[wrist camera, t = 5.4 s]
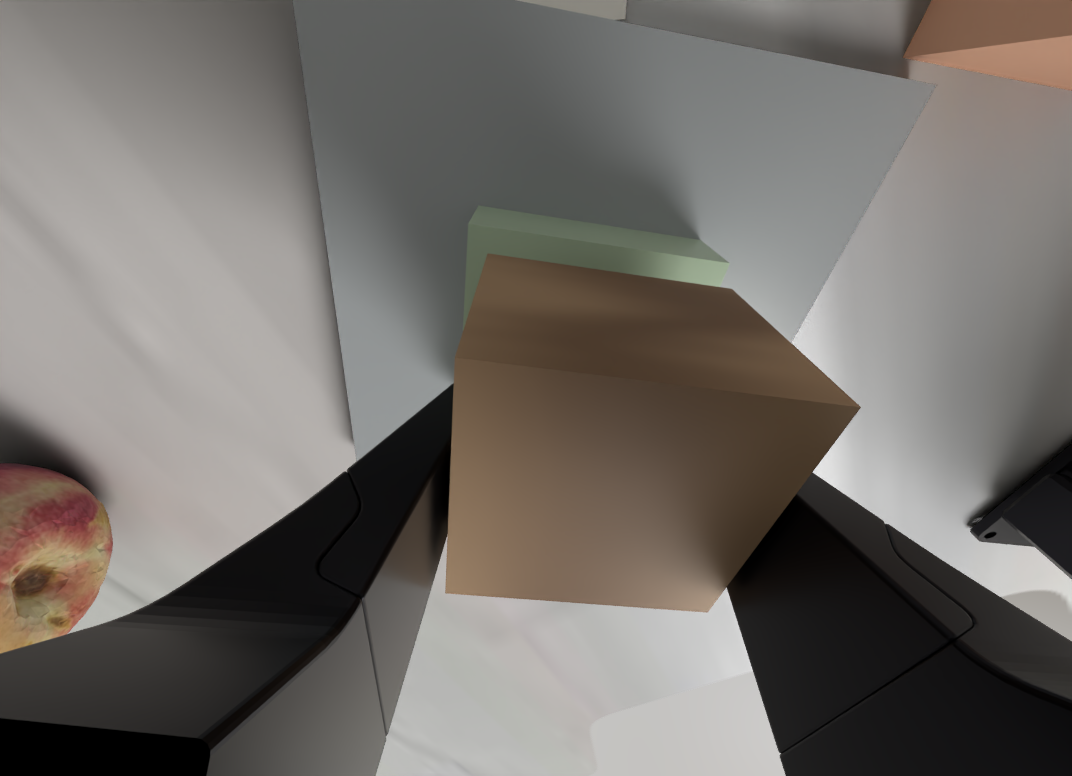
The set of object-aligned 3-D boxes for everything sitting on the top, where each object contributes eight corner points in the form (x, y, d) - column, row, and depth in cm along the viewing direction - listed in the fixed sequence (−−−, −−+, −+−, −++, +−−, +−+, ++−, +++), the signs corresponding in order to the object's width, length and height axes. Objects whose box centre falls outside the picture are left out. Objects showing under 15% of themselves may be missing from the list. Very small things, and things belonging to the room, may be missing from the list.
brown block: (731, 288, 8) (861, 407, 5) (656, 463, 11) (707, 612, 8) (487, 252, 8) (454, 357, 5) (472, 443, 11) (445, 593, 7)
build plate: (909, 86, 10) (1025, 80, 8) (696, 484, 18) (721, 541, 15) (305, -35, 9) (221, -86, 6) (364, 450, 16) (336, 507, 14)
